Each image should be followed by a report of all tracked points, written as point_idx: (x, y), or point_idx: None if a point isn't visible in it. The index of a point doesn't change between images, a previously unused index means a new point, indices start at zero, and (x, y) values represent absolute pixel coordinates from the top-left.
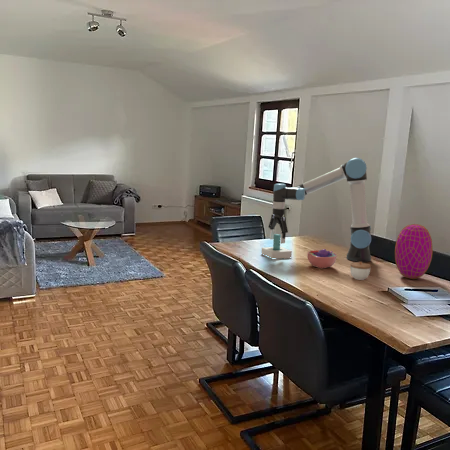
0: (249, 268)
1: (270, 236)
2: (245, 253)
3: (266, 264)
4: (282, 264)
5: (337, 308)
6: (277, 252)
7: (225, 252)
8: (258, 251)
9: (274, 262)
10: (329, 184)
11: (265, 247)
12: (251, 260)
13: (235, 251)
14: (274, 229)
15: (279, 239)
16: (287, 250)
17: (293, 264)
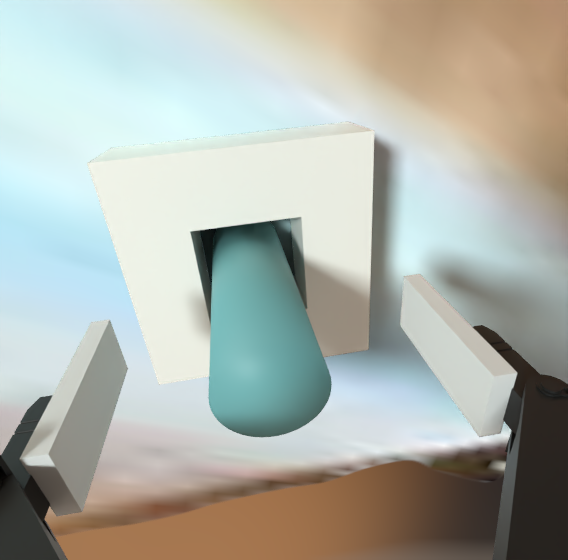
0: (487, 469)
1: (111, 401)
2: (126, 435)
3: None
4: (503, 291)
5: None
6: (367, 301)
7: (95, 527)
8: (36, 334)
9: None
10: None
11: (150, 351)
12: (338, 436)
13: None
14: (50, 455)
15: (311, 327)
16: (333, 172)
17: (544, 212)
